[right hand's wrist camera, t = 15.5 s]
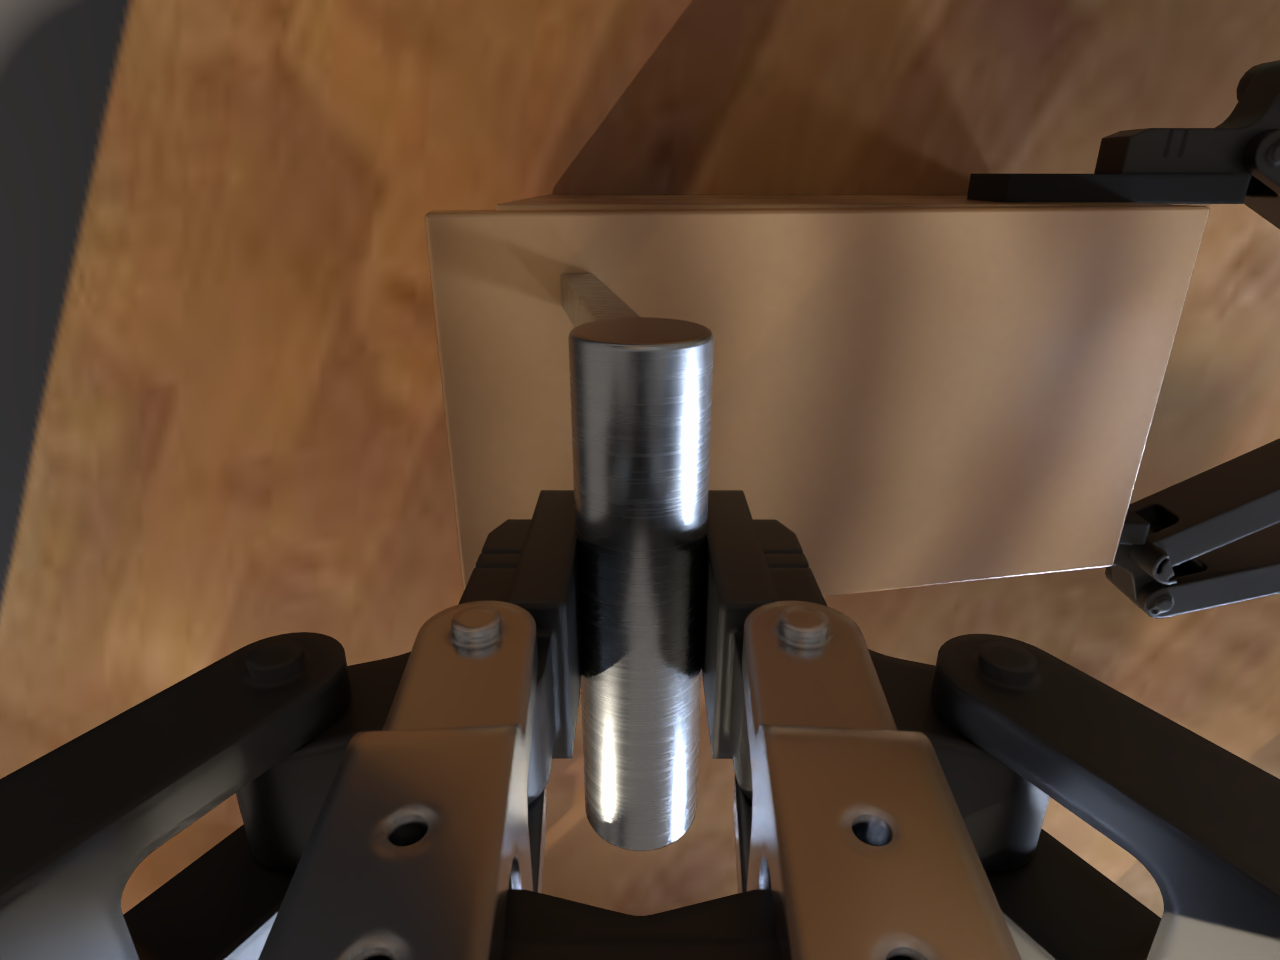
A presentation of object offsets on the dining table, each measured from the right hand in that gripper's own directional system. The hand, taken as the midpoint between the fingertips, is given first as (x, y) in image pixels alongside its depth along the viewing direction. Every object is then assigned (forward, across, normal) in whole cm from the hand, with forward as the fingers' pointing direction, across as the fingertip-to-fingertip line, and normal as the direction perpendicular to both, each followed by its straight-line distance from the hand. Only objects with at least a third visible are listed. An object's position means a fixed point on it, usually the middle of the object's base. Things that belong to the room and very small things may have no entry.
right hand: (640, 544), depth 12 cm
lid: (+8, -5, 0) cm, 9 cm away
